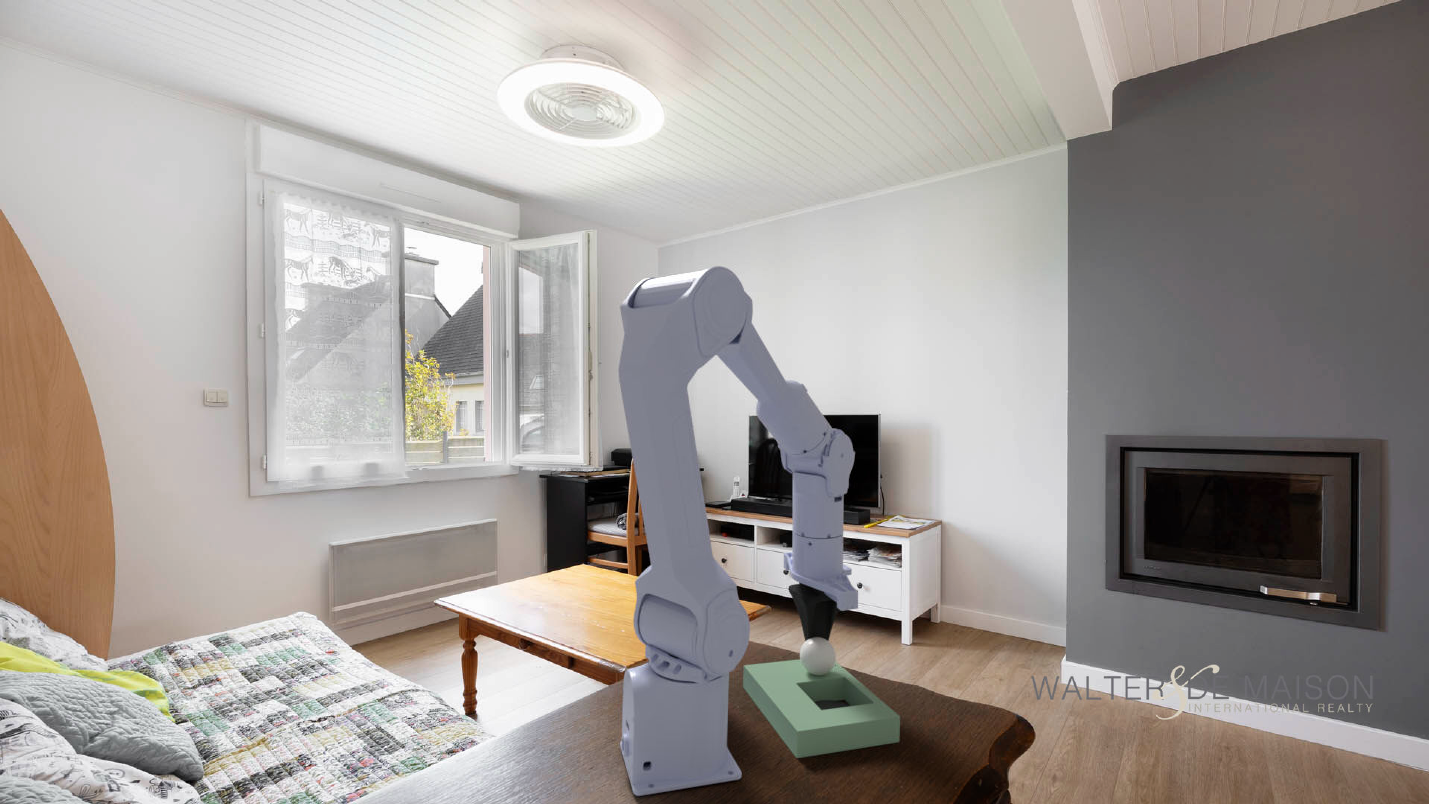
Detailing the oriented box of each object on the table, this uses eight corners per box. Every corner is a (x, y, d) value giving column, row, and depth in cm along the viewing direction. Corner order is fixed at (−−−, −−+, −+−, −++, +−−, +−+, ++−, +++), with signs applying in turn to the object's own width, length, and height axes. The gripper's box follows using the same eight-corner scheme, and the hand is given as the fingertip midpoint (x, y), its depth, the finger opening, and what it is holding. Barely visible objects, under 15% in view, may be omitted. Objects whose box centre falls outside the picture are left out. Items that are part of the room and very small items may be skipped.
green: (796, 758, 57) (797, 731, 57) (742, 687, 71) (743, 665, 71) (899, 742, 61) (900, 716, 61) (828, 676, 75) (829, 656, 75)
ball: (795, 678, 69) (815, 668, 66) (791, 641, 72) (809, 630, 69) (825, 680, 71) (846, 670, 68) (820, 644, 73) (839, 633, 70)
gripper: (884, 546, 65) (882, 672, 66) (819, 515, 79) (819, 619, 80) (823, 552, 63) (822, 683, 64) (768, 519, 77) (768, 627, 77)
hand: (817, 648), depth 71 cm, fingers closed, pressing on ball
